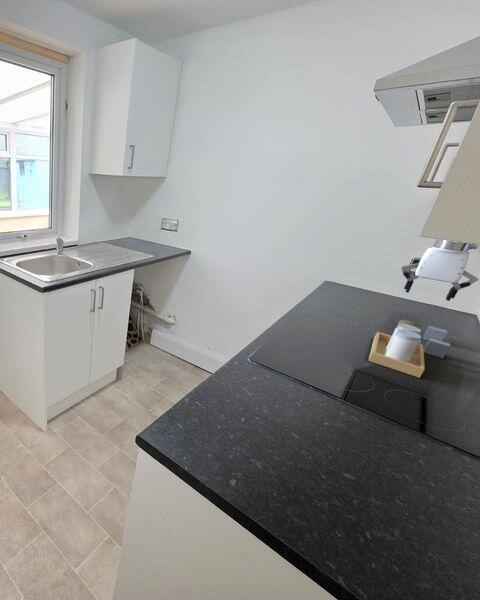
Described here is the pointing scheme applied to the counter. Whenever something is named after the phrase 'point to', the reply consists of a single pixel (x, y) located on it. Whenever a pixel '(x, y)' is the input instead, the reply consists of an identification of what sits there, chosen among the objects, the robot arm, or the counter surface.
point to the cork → (407, 324)
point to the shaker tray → (412, 368)
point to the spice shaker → (403, 327)
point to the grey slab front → (436, 348)
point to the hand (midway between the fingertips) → (426, 295)
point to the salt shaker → (403, 345)
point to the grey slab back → (434, 333)
